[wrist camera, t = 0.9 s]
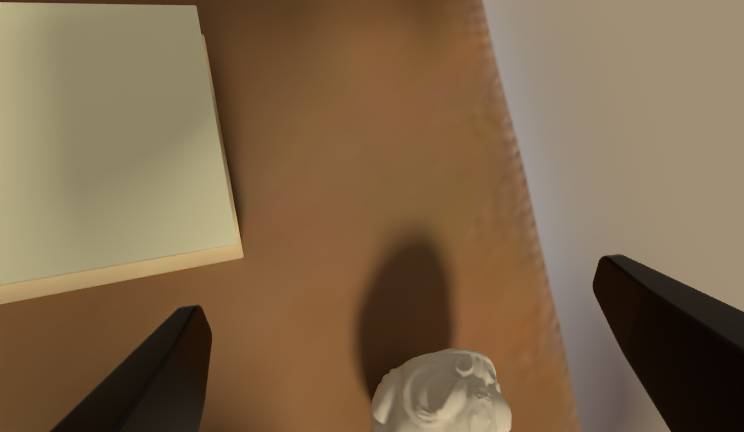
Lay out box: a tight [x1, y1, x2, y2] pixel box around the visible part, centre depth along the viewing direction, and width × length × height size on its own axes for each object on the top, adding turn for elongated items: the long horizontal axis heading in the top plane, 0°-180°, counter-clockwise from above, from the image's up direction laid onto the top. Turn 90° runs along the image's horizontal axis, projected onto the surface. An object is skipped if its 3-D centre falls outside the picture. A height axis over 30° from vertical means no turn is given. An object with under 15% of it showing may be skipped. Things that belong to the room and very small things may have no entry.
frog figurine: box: [371, 348, 511, 432], centre depth 20 cm, size 6×7×7 cm
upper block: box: [0, 2, 237, 286], centre depth 15 cm, size 9×9×3 cm
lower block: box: [0, 35, 244, 304], centre depth 18 cm, size 10×10×3 cm
